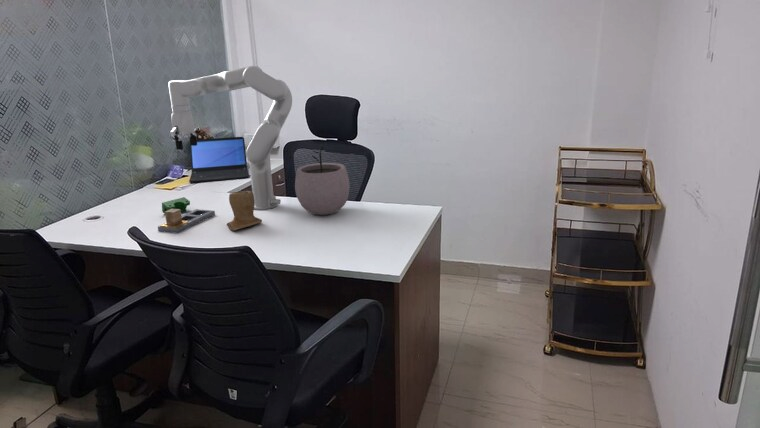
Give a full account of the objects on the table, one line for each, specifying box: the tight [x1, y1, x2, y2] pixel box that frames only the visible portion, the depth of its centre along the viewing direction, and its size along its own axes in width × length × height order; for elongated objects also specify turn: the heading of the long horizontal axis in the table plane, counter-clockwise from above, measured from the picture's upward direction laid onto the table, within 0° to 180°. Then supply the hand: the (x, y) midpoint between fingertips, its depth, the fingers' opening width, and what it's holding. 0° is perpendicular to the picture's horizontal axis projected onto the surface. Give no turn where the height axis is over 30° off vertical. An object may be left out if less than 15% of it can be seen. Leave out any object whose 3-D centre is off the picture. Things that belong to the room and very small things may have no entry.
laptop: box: [189, 136, 250, 184], centre depth 323 cm, size 33×38×19 cm
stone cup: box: [226, 190, 263, 232], centre depth 226 cm, size 15×12×15 cm
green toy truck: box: [161, 197, 191, 215], centre depth 250 cm, size 12×6×9 cm, turn 133°
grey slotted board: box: [157, 208, 216, 234], centre depth 235 cm, size 10×25×2 cm, turn 160°
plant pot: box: [294, 146, 351, 216], centre depth 237 cm, size 24×24×30 cm
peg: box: [164, 209, 182, 226], centre depth 227 cm, size 4×4×8 cm
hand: (187, 147), depth 243 cm, fingers open, 9 cm apart
